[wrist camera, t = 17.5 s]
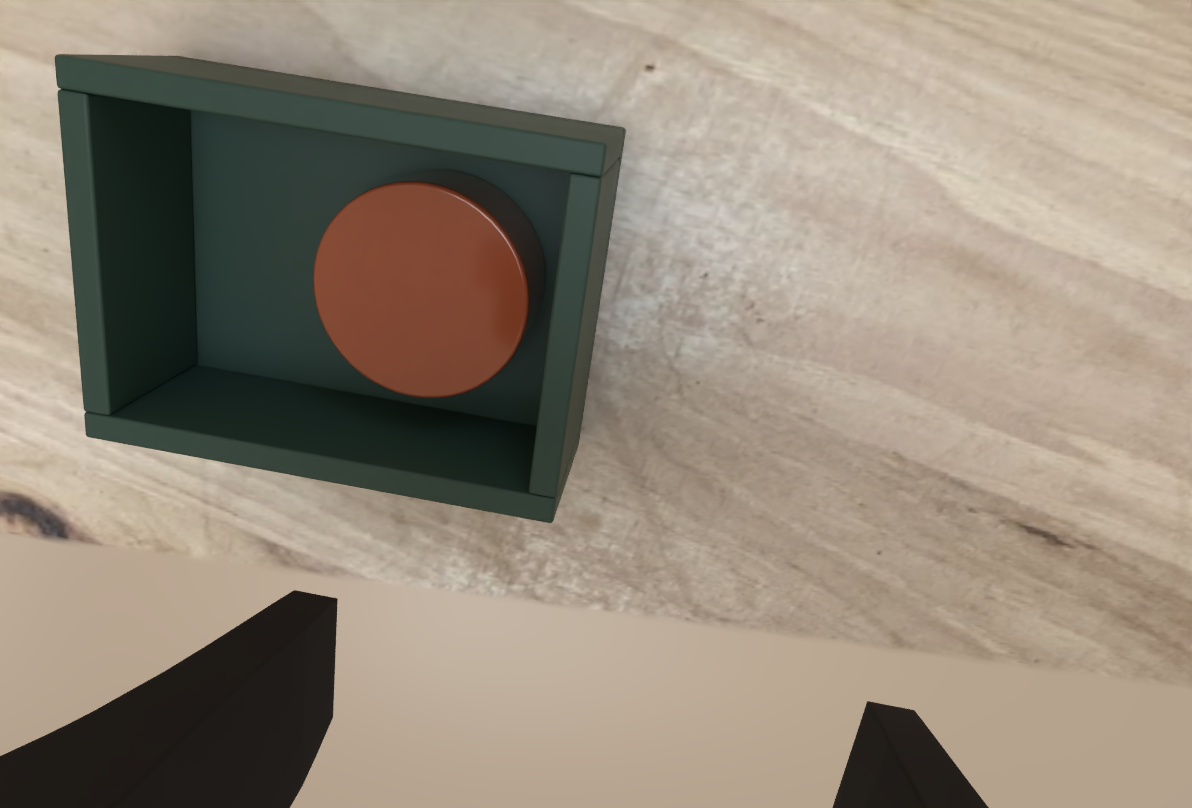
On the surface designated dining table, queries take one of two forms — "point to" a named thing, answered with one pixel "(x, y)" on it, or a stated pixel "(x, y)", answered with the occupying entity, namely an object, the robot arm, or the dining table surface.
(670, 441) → the dining table surface
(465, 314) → the cylinder
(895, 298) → the dining table surface
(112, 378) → the tub
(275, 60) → the dining table surface
